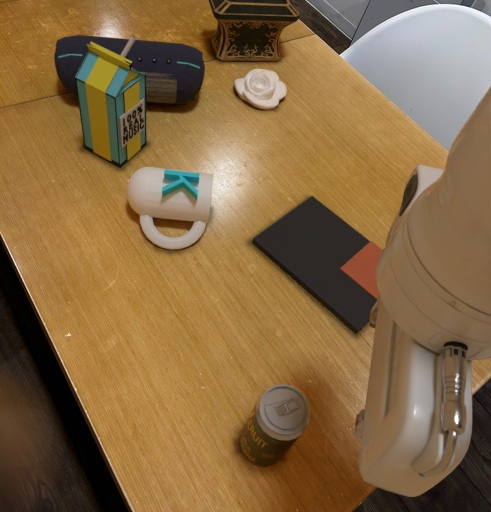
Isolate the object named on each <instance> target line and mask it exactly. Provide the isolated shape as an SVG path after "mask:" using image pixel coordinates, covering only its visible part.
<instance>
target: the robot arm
mask: <svg viewBox="0 0 491 512" xmlns="http://www.w3.org/2000/svg"><path fill="white" fill-rule="evenodd" d="M382 250H383V251H382V253H381V254H380V257H379V259H378V262H377V266H376V283H377V288H378V292H379V296H378V299H377V302H376V303H375V305H374V306H373V308H372V309H371V313H370V321H369V322H368V324H369V327H370V328H373V329H374V334H373V342H372V350H371V357H370V366H369V373H368V379H367V380H368V381H367V390H366V397H365V403H364V408H363V409H361V410H360V411H359V412H358V413H357V414H356V416H355V424H354V430H353V436H354V437H356V438H358V439H360V443H359V451H358V458H357V469H358V472H359V475H360V477H361V478H362V480H363V481H364V482H365V483H366V484H369V485H370V486H373V487H376V488H378V489H381V490H383V491H387V492H390V493H393V494H396V495H400V496H403V497H409V498H416V497H418V496H421V495H423V494H424V493H426V492H427V491H429V490H430V489H432V488H434V487H435V486H436V485H437V484H439V483H440V482H441V481H443V480H444V479H446V477H447V476H449V475H450V474H451V473H452V472H453V471H454V470H455V469H456V468H457V467H458V466H459V465H460V464H461V462H462V461H463V459H464V458H465V456H466V455H467V452H468V450H469V448H470V443H471V439H472V432H473V361H482V360H483V361H484V360H487V359H491V86H489V88H488V89H487V90H486V92H485V93H484V95H483V96H482V98H481V99H480V101H479V102H478V103H477V105H476V107H475V108H474V109H473V111H472V112H471V113H470V115H469V117H468V118H467V120H466V121H465V123H464V124H463V125H462V127H461V128H460V130H459V132H458V133H457V135H456V137H455V138H454V140H453V141H452V143H451V146H450V148H449V150H448V153H447V157H446V161H445V166H444V169H442V168H438V167H434V166H429V165H424V164H417V165H416V166H415V167H414V169H413V170H412V171H411V174H410V175H409V177H408V179H407V181H406V183H405V186H404V190H403V195H402V201H401V205H400V206H399V209H398V210H397V212H396V215H395V217H394V219H393V220H392V223H391V225H390V227H389V231H388V234H387V237H386V241H385V245H384V248H383V249H382Z"/></svg>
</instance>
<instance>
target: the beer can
mask: <svg viewBox="0 0 491 512" xmlns="http://www.w3.org/2000/svg"><path fill="white" fill-rule="evenodd" d="M310 409H311V407H310V404H309V402H308V399H307V397H306V396H305V395H304V393H303V392H302V391H301V390H300V389H298V388H297V387H295V386H292V385H290V384H285V383H278V384H274V385H272V386H270V387H268V388H267V389H265V390H263V391H262V393H261V394H260V395H259V396H258V398H257V400H256V402H255V404H254V405H253V408H252V410H251V412H250V414H249V415H248V418H247V419H246V422H245V424H244V426H243V428H242V431H241V433H240V437H239V446H240V448H241V452H242V453H243V455H244V457H245V459H247V461H249V462H250V463H251V464H253V465H256V466H257V467H263V468H267V467H272V466H275V465H276V464H277V463H279V462H280V461H281V460H282V459H283V458H284V457H285V455H286V454H287V453H288V452H289V451H290V449H291V448H292V447H293V446H294V445H295V443H297V441H298V440H299V438H301V436H302V435H303V434H304V432H305V431H306V429H307V428H308V426H309V422H310V419H311V418H310V416H311V410H310Z"/></svg>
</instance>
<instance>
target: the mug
mask: <svg viewBox="0 0 491 512" xmlns="http://www.w3.org/2000/svg"><path fill="white" fill-rule="evenodd" d="M213 185H214V174H213V173H208V172H207V173H205V172H199V171H198V172H197V171H191V170H182V169H174V168H164V167H156V166H143V167H141V168H139V169H137V170H136V171H134V173H132V175H131V176H130V178H129V180H128V182H127V187H126V198H127V201H128V204H129V206H130V207H131V209H132V211H134V212H135V213H136V214H137V215H139V224H140V227H141V231H142V232H143V234H144V235H145V237H146V238H147V239H148V240H149V241H150V242H151V243H152V244H153V245H156V246H157V247H158V248H159V247H160V249H161V248H162V249H165V250H181V249H185V248H188V247H190V246H192V245H193V244H195V243H196V242H198V240H200V238H202V236H203V233H204V232H205V230H206V227H207V224H208V223H209V220H210V212H211V204H212V195H213ZM154 218H155V219H163V220H164V219H165V220H174V221H184V222H193V223H192V226H191V228H190V229H189V231H187V232H186V233H185V234H183V235H180V236H174V237H171V236H167V235H165V234H163V233H161V232H160V231H159V230H158V228H157V227H156V226H155V224H154Z"/></svg>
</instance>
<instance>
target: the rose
mask: <svg viewBox="0 0 491 512" xmlns="http://www.w3.org/2000/svg"><path fill="white" fill-rule="evenodd" d="M233 83H234V84H233V85H234V89H235V91H236V93H237V95H238V97H239V98H240V99H241V100H243V101H244V102H247V103H248V104H250V105H251V106H252V107H255V108H257V109H260V110H266V111H267V110H273V109H276V107H277V106H278V105H279V102H280V101H281V100H282V99H283V98H285V96H287V92H288V91H287V86H286V84H285V82H284V81H282V80H280V77H279V75H278V74H277V72H276V71H274V70H270V69H264V68H254V69H252V70H250V71H248V73H246V75H245V76H244V77H240V78H236V79H234V82H233Z"/></svg>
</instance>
